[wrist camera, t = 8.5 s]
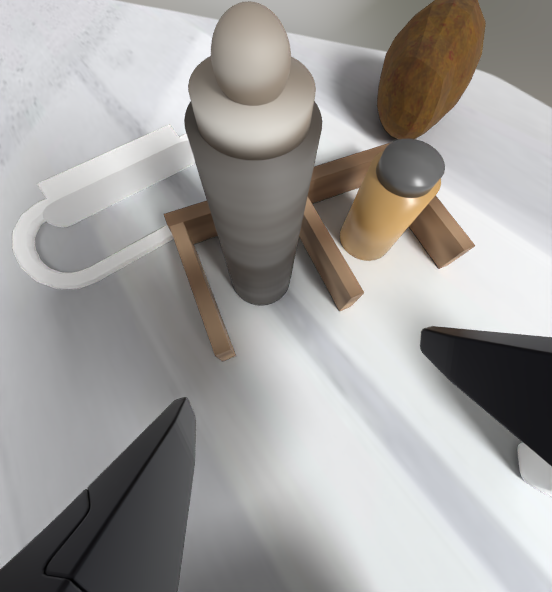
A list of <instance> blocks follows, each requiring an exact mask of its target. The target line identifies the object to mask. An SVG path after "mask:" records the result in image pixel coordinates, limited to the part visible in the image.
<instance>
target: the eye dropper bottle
mask: <svg viewBox="0 0 552 592" xmlns="http://www.w3.org/2000/svg"><path fill="white" fill-rule="evenodd" d="M517 450H518V460H519V468H520V474H521V476H522V478H523V480H524V481H525V482H526V483H528V484H529V485H530V486H532V487H533V488H535V489H536V490H538V491H540V492H542V493H544V494H546V495H548V496H550V497H552V466H550V465H549V464H548V463H547V462H546V461H544V460H543V459H542V458H541V457H540V456H538V455H537V454H536V453H535V452H534V451H533V450H531V449H530V448H529V447H528V446H527V445H525V444H524V443H523V442H521V443H520V444H519V445H518V449H517Z"/></svg>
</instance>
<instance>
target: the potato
mask: <svg viewBox="0 0 552 592" xmlns="http://www.w3.org/2000/svg"><path fill="white" fill-rule="evenodd" d="M484 32H485V19H484V17H483V14H482V12H481V9H480V7H479V3H478V0H434V1H433V2H432V3H430V4H429V5H428V6H426V7H425V8H424V9H422V10H421V11H420V12H418V13H417V14H416V15H415V16H414V17H413V18H412V19H411V20H410V21H409V22H408V23H407V25H406V26H405V27H404V28H403V29H402V30H401V31H400V32H399V34H398V35H397V36H396V37H395V39H394V40H393V42H392V44H391V46H390V48H389V50H388V51H387V53H386V56H385V60H384V64H383V68H382V73H381V77H380V82H379V89H378V97H377V108H378V113H379V117H380V121H381V123H382V125H383V127H384V129H385V130H386V132H387V133H389V134H390V135H391V136H392V137H394V138H397V139H416V138H417V137H419V136H421V135H423V134H424V133H425V132H427V131H428V130H429V129H430V128H431V127H433V126H434V125H435V124H436V123H437V122H438V121H439V120H440V119H441V118H442V117H443V116H444V115H445V114H446V113H448V112H449V111H450V110H451V109H452V108H453V107H454V106H455V105H456V104H457V102H458V101H459V99H460V98H461V96H462V94H463V93H464V91H465V90H466V88H467V86H468V85H469V83H470V81H471V79H472V77H473V74H474V72H475V69H476V67H477V64H478V62H479V59H480V57H481V55H482V47H483V40H484Z"/></svg>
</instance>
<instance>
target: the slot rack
mask: <svg viewBox="0 0 552 592" xmlns="http://www.w3.org/2000/svg"><path fill="white" fill-rule="evenodd" d="M389 144H390V143H388V144H385V145H381V146H378V147H375V148H372V149H369V150H366V151H362V152H359V153H356V154H353V155H350V156H347V157H343V158H340V159H337V160H334V161H331V162H327V163H324V164H321V165H318V166H315V167H314V168H313V173H312V178H311V182H310V187H309V192H308V197H307V201H306V206H305V211H304V216H303V220H302V225H301V230H300V235H299V237H300V239H301V241H302V243H303V245H304V246H305V248H306V250H307V252H308V254H309V256H310V258H311V259H312V261H313V263H314V265H315V267H316V269H317V271H318V272H319V274H320V276H321V278H322V280H323V282H324V284H325V285H326V287H327V289H328V291H329V293H330V295H331V296H332V298H333V300H334V302H335V304H336V306H337V308H338V309H339V311H342V310H344V309H346V308H349V307H351V306H352V305H353V304H354V303H355V302H356V301H357V300H358V299H359V298H360V297H361V296H362V295H363V294H364V291H363V290H362V288H361V286H360V285H359V283H358V281H357V279H356V278H355V276H354V274H353V273H352V271H351V269H350V268H349V266H348V264H347V262H346V261H345V259H344V257H343V256H342V254H341V252H340V251H339V249H338V247H337V245H336V244H335V242H334V240H333V239H332V237H331V235H330V234H329V232H328V230H327V228H326V227H325V225H324V223H323V222H322V220H321V218H320V217H319V215H318V213H317V211H316V210H315V208H314V206H313V205H312V204H313V203H316V202H319V201H322V200H324V199H327V198H330V197H333V196H336V195H339V194H342V193H345V192H348V191H351V190H354V189H357V188H360V186H361V184H362V182H363V179H364V177H365V175H366V173H367V171H368V168H369V166H370V164H371V162H372V160H373V159H374V157H375V156H376V155H378V154H379V153H381V152H382V151H384V150H385V148H386V147H387V146H388V145H389ZM164 217H165V219H166V222H167V225H168V228H169V229H170V231H171V233H172V235H173V238H174V241H175V244H176V246H177V249H178V252H179V255H180V258H181V261H182V263H183V266H184V269H185V272H186V275H187V278H188V280H189V283H190V286H191V289H192V292H193V295H194V298H195V300H196V303H197V306H198V309H199V312H200V315H201V317H202V320H203V323H204V326H205V329H206V332H207V334H208V337H209V340H210V343H211V346H212V349H213V351H214V354H215V356H216V357H217V358H219V359H220V360H221V361H225V360H228V359H230V358H232V357H234V356H236V354H235V352H234V349H233V346H232V344H231V341H230V338H229V336H228V333H227V331H226V328H225V325H224V323H223V320H222V317H221V315H220V312H219V309H218V307H217V304H216V302H215V299H214V296H213V294H212V291H211V288H210V286H209V283H208V280H207V278H206V275H205V272H204V270H203V267H202V265H201V262H200V259H199V257H198V254H197V251H196V249H195V246H194V244H196V243H199V242H202V241H204V240H207V239H210V238H213V237H216V236H218V235H217V231H216V228H215V225H214V221H213V218H212V215H211V212H210V208H209V205H208V202H207V201H204V202H201V203H197V204H194V205H191V206H188V207H185V208H182V209H178V210H175V211H172V212H169V213H166V214H164ZM409 227H410V229H411V230H412V232H413V233H414V234H415V236H416V237H417V239H418V240H419V241H420V243H421V244H422V246H423V247H424V248H425V250H426V251H427V253H428V254H429V255H430V257H431V258H432V260H433V261H434V262H435V264H436V265H437V267H438V268H439V269H440V268H442V267H444V266H447V265H449V264H450V263H452V262H453V261H455V260H456V259H457V258H459V257H460V256H462V255H463V254H464V253H466V252H467V251H469V250H470V249H472V248H473V247H474V246H475V245H474V243H473V242H472V241H471V240H470V238H469V237H468V236H467V234H466V233H465V232H464V231H463V229H462V228H461V227H460V226H459V224H458V223H457V222H456V221H455V219H454V218H453V217H452V216H451V214H450V213H449V212H448V211H447V209H446V208H445V207H444V205H443V204H442V203H441V202H440V200H439V199H438V198H437V197H436V195H435V196H434V198H433V199H432V200H431V201H430V202H429V203H428V205H427V206H426V207H425V208H424V209H423V210H422V212H421V213H420V214H419V215H418V216H417V218H416V219H415V220H414V221H413V222H412V223H411V225H410V226H409Z"/></svg>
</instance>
